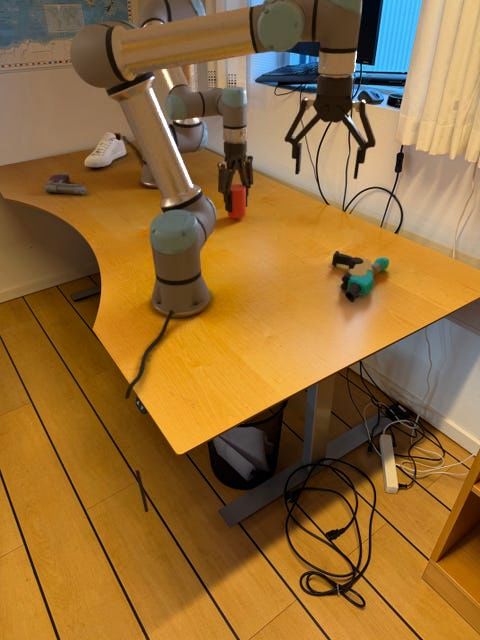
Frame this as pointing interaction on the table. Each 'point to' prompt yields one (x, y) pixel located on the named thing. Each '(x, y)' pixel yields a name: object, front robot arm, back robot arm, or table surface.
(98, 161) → the sneaker
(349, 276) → the toy gun
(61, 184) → the toy gun
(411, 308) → the table surface
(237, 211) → the canister
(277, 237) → the table surface
